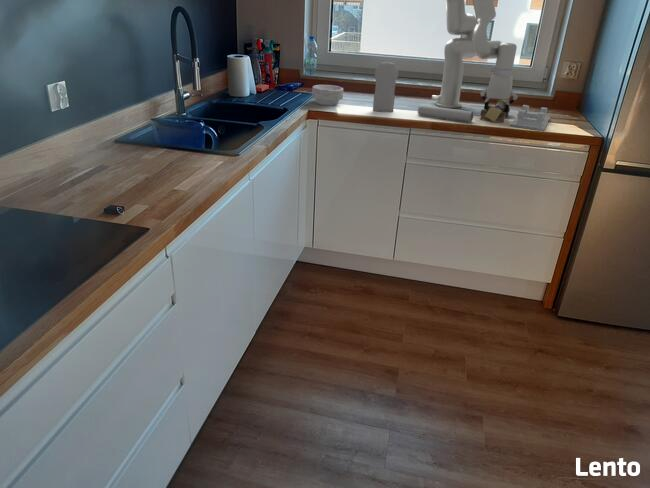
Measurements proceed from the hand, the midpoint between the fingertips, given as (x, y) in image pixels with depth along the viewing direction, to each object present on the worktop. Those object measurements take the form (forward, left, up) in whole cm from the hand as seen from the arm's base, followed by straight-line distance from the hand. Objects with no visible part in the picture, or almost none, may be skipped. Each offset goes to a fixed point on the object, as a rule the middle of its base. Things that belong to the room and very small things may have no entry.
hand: (495, 112), depth 234 cm
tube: (-20, -16, -3) cm, 26 cm away
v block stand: (+16, 0, -3) cm, 16 cm away
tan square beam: (0, 0, -1) cm, 1 cm away
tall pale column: (-48, -19, -3) cm, 52 cm away
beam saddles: (0, 0, -3) cm, 3 cm away
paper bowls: (-77, -20, -3) cm, 80 cm away
